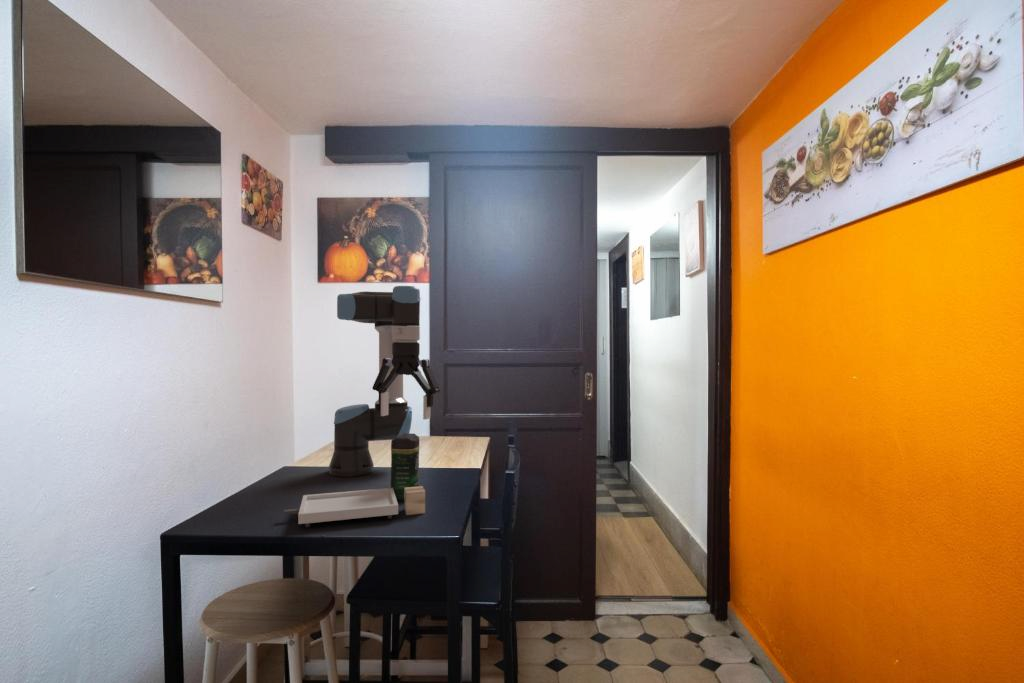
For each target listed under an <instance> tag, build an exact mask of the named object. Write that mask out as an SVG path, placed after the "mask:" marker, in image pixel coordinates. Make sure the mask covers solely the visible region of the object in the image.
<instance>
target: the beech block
mask: <svg viewBox="0 0 1024 683" xmlns="http://www.w3.org/2000/svg"><path fill="white" fill-rule="evenodd" d="M403 501H404V507H403V508H404V511H405V515H406V516H411V515H420V514H425V513H426V489H425V488H424V486H423V485H422V486H421V485H419V486H418V487H406V488H404V500H403Z"/></svg>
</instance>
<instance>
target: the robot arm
mask: <svg viewBox="0 0 1024 683" xmlns="http://www.w3.org/2000/svg"><path fill="white" fill-rule="evenodd" d="M420 290H421V289H420V288H419V287H418V286H413V285H395V286H394V287H393V288H392V291H391V292H390V291H389V292H388V291H359V292H352V293H340V294H337V297H336V299H337V300H336V309H337V310H336V312H337V313H336V316H337V319H338V320H343V321H352V322H356V323H360V324H361V323H362V324H374V330H375V331H376V332H378V373H377V376H376V378H375V380H374V382H373V386H372V391H376V392H378V399H377V400H376V401H375V402H374V407H371V408H370V405H369V404H367V403H362V404H361V403H359V404H352V405H347V406H343V407H340V408H338V409H337V410H336V411H335V412H334V421H333V425H334V435H333V436H334V437H333V440H334V441H333V444H334V448H333V453H332V457H331V460H330V463H329V465H328V474H329V475H330V476H332V477H341V478H352V477H359V476H360V477H361V476H365V475H368V474H370V473H373V471H374V468H375V467H374V460H373V458H372V456H371V453H370V449H369V446H370V445H369V442H375V441H379V442H380V441H392V440H393V439H394V438H396V437H397V436H399V435H402V434H403V433H410V432H411V427H412V420H413V419H412V418H413V409H412V407H411V406H408V401H407V400H406V399H405V397H404V375H406V376H411V377H413V378H414V380H415V381H416V382H417V384H418V386H420V388H421V389H422V391H423V392H424V394H425V395H423V397H422V398H423V402H422V403H423V404H422V405H423V412H422V413H423V414H422V415H423V416H422V417H423V418H422V419H423V420H429V419H431V414H432V413H431V408H432V407H434V395H435V394H439V393H440V391H441V389H440V387H439V385H438V382H437V380H436V378H435V376H434V373H433V370H432V368H431V363H430V359H428V358H425V359H420V358H419V357H420V342H418V341H420V339H421V336H420V335H421V334H420V333H421V332H420V330H421V329H420V328H421V327H420V316H421V315H420V312H421V311H420V310H421V309H420V308H421V307H420V306H421V294H420V292H421V291H420ZM419 366H420V368H421V369H422V372H421V370H420V369H419ZM422 373H423V374H424V376H425V377H424V376H423V374H422Z"/></svg>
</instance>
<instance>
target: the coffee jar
mask: <svg viewBox="0 0 1024 683" xmlns="http://www.w3.org/2000/svg"><path fill="white" fill-rule="evenodd" d="M390 441H391V443H390V444H391V445H390V456H391V457H390V459H391V460H390V487H389V488H393V490H394V493H395V496H396V499H397V501H404V488H406V487H418V486H420V476H419V475H420V471H419V470H420V468H419V467H420V437H419V436H418V435H417V434H415V433H412V432H411V433H410V432H409V433H403V434H402V435H399V436H397V437H396V438H394V439H393V440H390Z"/></svg>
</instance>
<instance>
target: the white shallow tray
mask: <svg viewBox="0 0 1024 683" xmlns="http://www.w3.org/2000/svg"><path fill="white" fill-rule="evenodd" d="M295 514H297V517H298V519H297V520H298V521H297V522H298V523H297V524H298V525H303V524H304V526H305V528H310V527H311V524H314V523H315V524H316V523H324V522H332V521H333V522H334V521H344V520H345V521H346V520H352V519H364V518H373V517H383V516H384V517H385V516H387V520H389V519H393V515H399V503H398V500H397V499H396V496H395V493H394V490H393V488H390V487H385V488H376V489H375V488H374V489H373V488H372V489H362V490H350V491H338V492H336V491H335V492H325V493H324V492H323V493H314V494H303V495H302V499H301V504H300V507H299V508H294V509H284V510H283V515H284V516H285V515H295Z"/></svg>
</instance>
